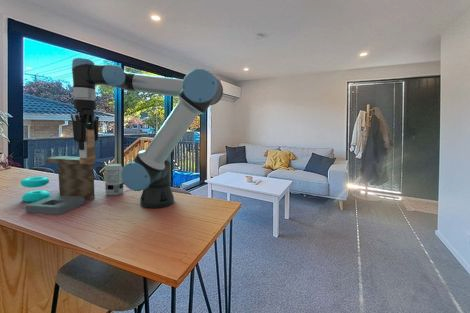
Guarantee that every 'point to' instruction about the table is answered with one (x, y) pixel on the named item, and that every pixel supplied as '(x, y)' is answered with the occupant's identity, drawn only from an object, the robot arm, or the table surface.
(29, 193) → the donuts
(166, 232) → the table surface
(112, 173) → the supplement can
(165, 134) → the robot arm
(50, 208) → the socket
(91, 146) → the peg
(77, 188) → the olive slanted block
